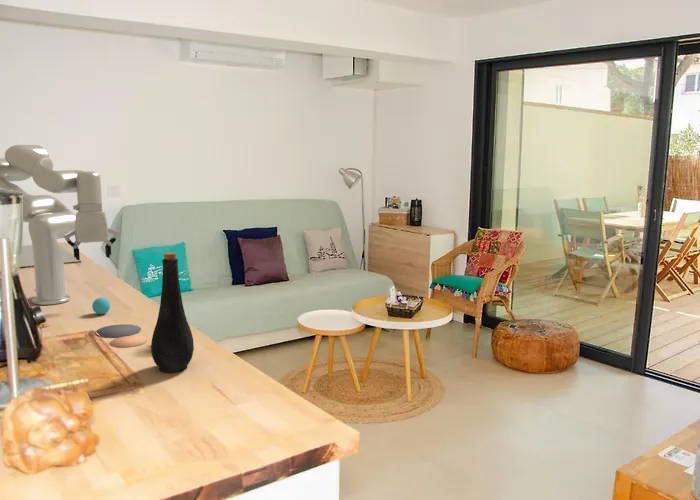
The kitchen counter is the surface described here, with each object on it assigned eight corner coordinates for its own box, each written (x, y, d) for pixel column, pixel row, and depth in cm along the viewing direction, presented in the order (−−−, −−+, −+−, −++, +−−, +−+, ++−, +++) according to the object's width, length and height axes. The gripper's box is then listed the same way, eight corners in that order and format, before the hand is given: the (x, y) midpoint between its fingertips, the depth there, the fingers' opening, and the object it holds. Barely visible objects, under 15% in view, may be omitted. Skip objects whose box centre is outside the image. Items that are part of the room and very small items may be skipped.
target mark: (86, 331, 185) (86, 331, 185) (124, 322, 196) (124, 321, 195) (111, 340, 178) (111, 339, 178) (149, 330, 188) (149, 329, 188)
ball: (89, 314, 204) (88, 298, 203) (104, 310, 208) (103, 295, 207) (98, 317, 201) (97, 300, 200) (114, 313, 205) (113, 297, 204)
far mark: (103, 342, 176) (103, 341, 176) (133, 334, 184) (133, 333, 184) (123, 349, 170) (123, 349, 170) (153, 341, 178) (153, 340, 178)
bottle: (182, 377, 151) (179, 258, 146) (143, 373, 153) (139, 255, 148) (201, 362, 161) (199, 251, 156) (164, 359, 163) (161, 248, 158)
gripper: (63, 210, 198) (67, 262, 201) (119, 208, 207) (121, 257, 210) (60, 208, 204) (63, 258, 207) (114, 206, 214) (116, 254, 216)
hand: (93, 258), depth 209 cm, fingers open, 9 cm apart
